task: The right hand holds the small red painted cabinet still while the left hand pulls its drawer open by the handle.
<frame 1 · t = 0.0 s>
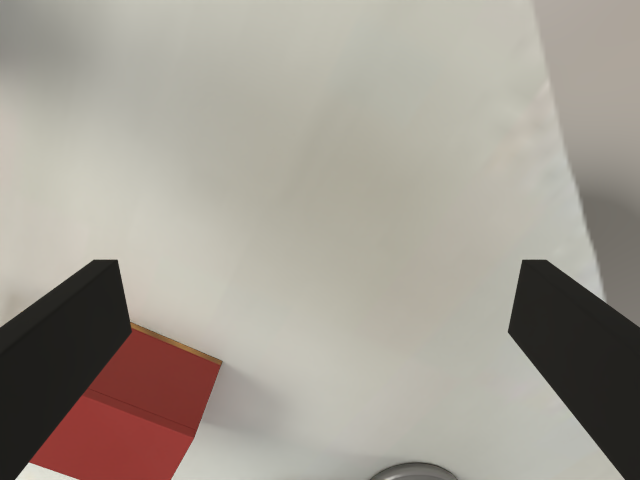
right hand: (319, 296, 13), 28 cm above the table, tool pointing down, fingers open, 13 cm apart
cabinet: (141, 365, 48), on the table
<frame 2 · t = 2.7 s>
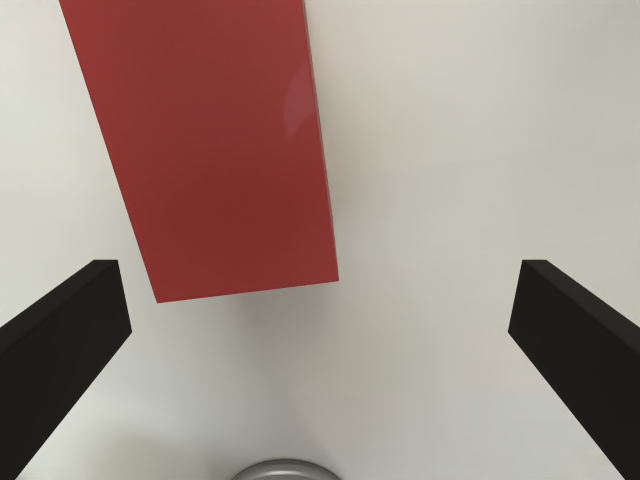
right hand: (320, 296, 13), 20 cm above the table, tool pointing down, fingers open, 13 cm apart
cabinet: (250, 124, 30), on the table
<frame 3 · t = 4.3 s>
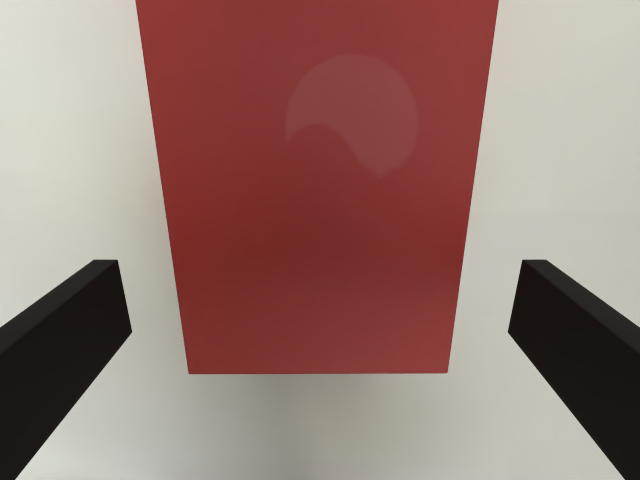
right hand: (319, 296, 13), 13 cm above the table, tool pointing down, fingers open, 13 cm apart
cabinet: (317, 134, 24), on the table
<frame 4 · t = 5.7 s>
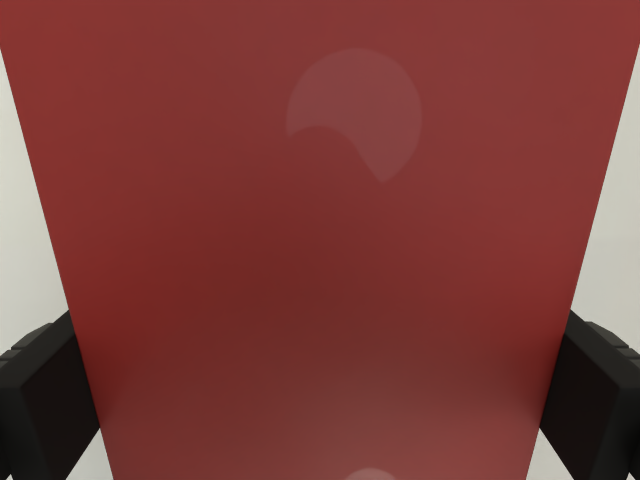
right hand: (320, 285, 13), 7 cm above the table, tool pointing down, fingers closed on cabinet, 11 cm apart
cabinet: (319, 138, 18), on the table, touching right hand
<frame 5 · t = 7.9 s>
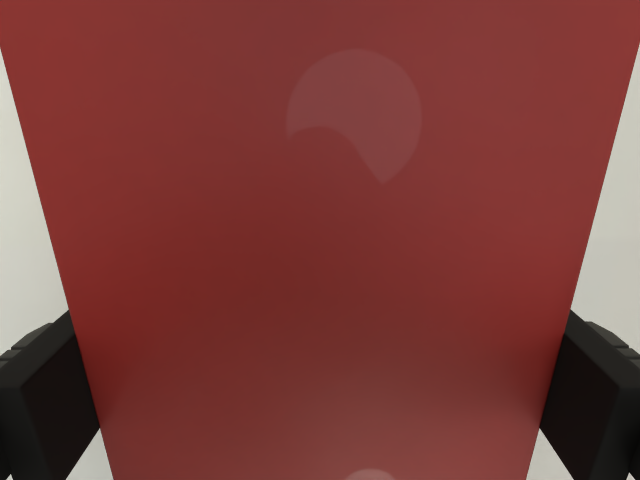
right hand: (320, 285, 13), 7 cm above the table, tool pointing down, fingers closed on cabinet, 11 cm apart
cabinet: (319, 138, 18), on the table, touching right hand
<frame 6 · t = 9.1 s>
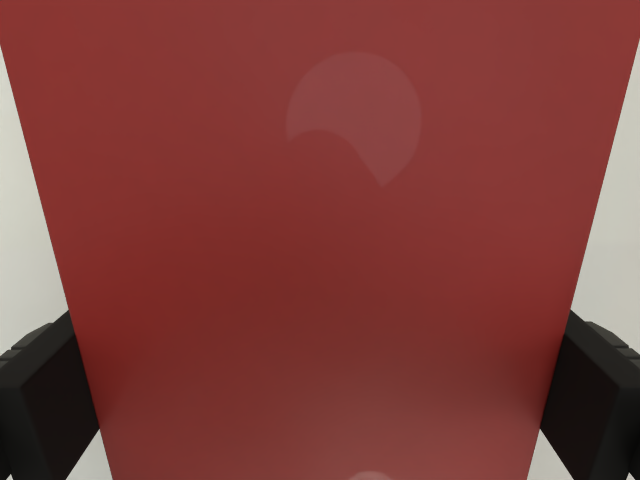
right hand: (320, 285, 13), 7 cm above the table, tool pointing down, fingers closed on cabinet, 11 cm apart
cabinet: (319, 139, 18), on the table, touching right hand
when the right hand's fingers open (7 cm above the table, at t = 11.1 s): cabinet stays where it is, on the table.
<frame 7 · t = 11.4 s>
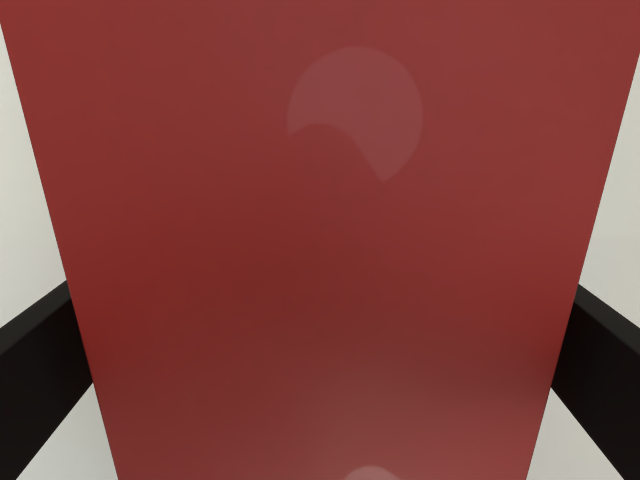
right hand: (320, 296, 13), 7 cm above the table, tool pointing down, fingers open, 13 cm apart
cabinet: (321, 126, 18), on the table
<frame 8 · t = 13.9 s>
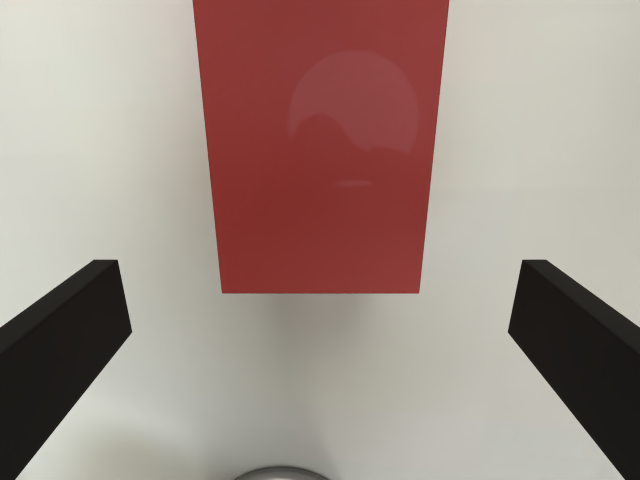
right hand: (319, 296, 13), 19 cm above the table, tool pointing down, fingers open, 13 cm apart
cabinet: (320, 116, 29), on the table
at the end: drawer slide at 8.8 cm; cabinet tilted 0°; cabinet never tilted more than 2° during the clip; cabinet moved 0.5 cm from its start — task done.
